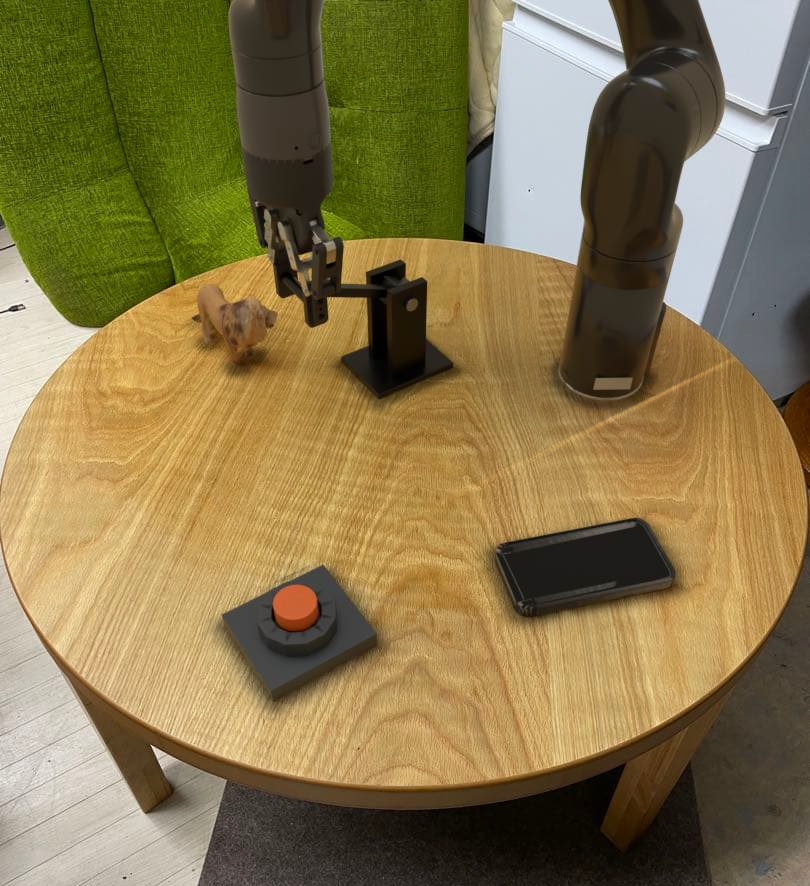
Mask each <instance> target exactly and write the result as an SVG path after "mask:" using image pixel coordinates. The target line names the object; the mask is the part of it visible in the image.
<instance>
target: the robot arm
mask: <svg viewBox="0 0 810 886" xmlns="http://www.w3.org/2000/svg"><path fill="white" fill-rule="evenodd" d="M607 2H608V3H609V6H610V8H611V12H612V14H613V17H614V20H615V24H616V28H617V32H618V35H619V39H620V45H621V48H622V52H623V53H622V54H623V57H624V63H625V70H624V71H623V72H620V73H619V74H618V75H616V76H615V77H613V78H612V79H611V80H610V81H609V82H608V83H607V84H605V86H604V87H603V89H602V90H601V91H600V93H599V94H598V96H597V99H596V101H595V103H594V106H593V109H592V112H591V116H590V119H589V125H588V129H587V136H586V144H585V151H584V159H583V168H582V175H581V176H582V177H581V186H580V198H579V200H580V209H581V214H582V216H583V226H582V232H581V237H580V244H579V249H578V256H577V262H576V267H575V272H574V273H575V274H574V278H573V279H574V280H573V286H572V291H571V297H570V303H569V309H568V313H567V321H566V326H565V331H564V338H563V343H562V344H563V345H562V348H561V354H560V360H559V362H558V367H557V375H558V378H559V380H560V382H561V384H562V385H563V386H564V387H565V388H566V389H567V390H569V392H571V393H573V394H574V395H577V396H579V397H581V398H584V399H587V400H589V401H596V402H617V401H618V402H619V401H622V400H626V399H627V398H630V397H632V396H634V395H635V394H637V392H638V391H639V390H640V389H641V387H642V385H643V382H644V378H645V377H647V376H649V374H650V371H651V367H652V364H653V360H654V356H655V353H656V349H657V345H658V342H659V339H660V338H659V337H660V334H661V331H662V327H663V323H664V319H665V317H666V316H665V315H666V313H667V304H666V302H665V301H664V299H665V296H666V292H667V287H668V285H669V281H670V276H671V272H672V268H673V265H674V261H675V257H676V254H677V250H678V245H679V242H680V239H681V235H682V231H683V227H684V215H683V212H682V210H681V208H680V207H679V206H678V205H677V203H676V198H677V194H678V190H679V186H680V181H681V176H682V172H683V168H684V165H685V162H686V161H688V160H689V159H691V158H692V157H693V156H694V155H695V154H696V153H697V152H699V151H700V150H701V149H703V148H704V147H705V146H706V145H707V144H708V143H709V142H710V141H711V140H712V138H713V137H714V136H715V134H716V133H717V131H718V129H719V128H720V126H721V123H722V121H723V117H724V114H725V107H726V87H725V81H724V76H723V73H722V69H721V65H720V61H719V59H718V55H717V52H716V49H715V47H714V43H713V40H712V37H711V33H710V31H709V29H708V24H707V22H706V19H705V16H704V13H703V9H702V6H701V4H700V1H699V0H607ZM324 4H325V0H232V1H231V3H230V6H229V9H228V33H229V41H230V49H231V57H232V64H233V72H234V78H235V79H234V80H235V89H236V97H235V99H236V105H235V106H236V118H237V124H238V131H239V132H238V133H239V138H240V146H241V152H242V160H243V167H244V174H245V175H244V176H245V182H246V183H245V184H246V190H247V195H248V200H249V204H250V209H251V214H252V218H253V223H254V226H255V231H256V236H257V241H258V244H259V246H260V247H261V249H266V248H267V257H268V260H269V261H270V263H272V269H273V277H274V283H275V292H276V294H277V296H278V297H279V298H280V299H287V298H289V297H291V296H296V295H295V294H294V293H293V292H292V291H291V290H290V289H289V288H288V287H287V286H286V285H285V284H284V283H283V282H282V280H281V278H282V275H283V274H284V273H286V272H290V273H291V274H292V275H293V276H294V277H295V278H296V279H297V280H298V281H299V282H300V283H301V286H302V290H303V292H302V294H303V302H302V304H303V312H304V313H303V314H304V323H305V324H306V326H308V327H309V328H310V329H313V328H316V327H319V326H322V325H324V324H326V323H328V321H329V318H330V317H329V305H328V297H327V296H328V295H331V294H333V293H337V292H340V290H341V284H342V275H343V263H344V261H343V260H344V251H345V245H344V242H343V239H342V238H341V237H340V236H336V237H333V238H331V237H330V236H329V235H328V233H327V232H326V231H325V229H326V225H325V224H326V223H325V220H324V216H323V212H322V208H321V207H322V204H323V202H324V201H325V199H326V198H327V197H328V196H329V194H330V193H331V191H332V190H333V187H334V169H333V154H332V151H333V150H332V138H331V136H332V135H331V124H330V123H331V121H330V120H331V119H330V107H329V100H328V94H327V89H326V85H325V84H326V83H325V76H324V75H325V72H324V56H323V55H324V54H323V40H322V31H321V22H322V14H323V10H324ZM308 253H309V255H310V256H309V257H307V258H303V259H301V258H300V256H303V255H307V254H308ZM310 270H311V277H310V276H309V271H310ZM310 278H311V279H310Z"/></svg>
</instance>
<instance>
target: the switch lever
mask: <svg viewBox="0 0 810 886" xmlns="http://www.w3.org/2000/svg"><path fill="white" fill-rule="evenodd" d="M281 280H282V282H283V283H284V284H285V285H286V286H287V287H288V288H289V289H290V290H291V291H292V292H293V293H294V294H295V295H294V296H296V297H297V298H298V299H299V300H300V302H302V303H303V294H302V292H303V290H302V286H301V282H300V280H299V279H298V280H297V279H296V278H295V277H294V276H293V275H292V274H291V273H290V272H286V273H284V274H283V275H282V278H281ZM410 281H411V280H409V279H408V278H407V276H406V277H404V276H383V280H382V283H381V285H379V284H366V283H341V290H340V292H337V293H333V294H331V295H328V296H327V298H342V299H343V298H347V299H348V298H349V299H350V298H351V299H352V298H353V299H356V298H357V299H367V298H379V299H380V300H381V301H382V302H384V303H385V304H386V305H387V290H388V289H391V288H394V287H397V286H399V285H402V284H405V283H407V282H410Z"/></svg>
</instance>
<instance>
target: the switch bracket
mask: <svg viewBox="0 0 810 886" xmlns="http://www.w3.org/2000/svg"><path fill="white" fill-rule="evenodd" d="M383 276H404V277H406V278H407V263H406V262H405V261H404V260H403V259H398V260H394V261H392V262H388V263H386V264H384V265H381V266H378V267H375V268H373V269H370V270H367V271H365V284H379V285H381V283H382V280H383ZM409 281H410V282H407V283H405V284H402V285H399V286H397V287H394V288H391V289H388V290H387V305H386V304H385V303H384V302H382V301H381V300H380V299H379V298H366V316H367V317H366V318H367V343H368V345H367V346H364V347H361V348H359V349H357V350H354V351H352V352H349V353H347V354H344V355H341V356H340V362H341V363H342V364H343V365H344V366H345V367H346V368H347V369H348V370H349V371H350V372H351V374H353V375H354V376H355V377H356V378H357V379H358V380H359V381H360V382H361V383H362V384H363V385H364V386H365V387H366V389H368V391H369V392H370V393H372V394H373V395H374V397H376V398H377V400H381V399H383V398H385V397H388V396H391V395H393V394H395V393H397V392H400V391H401V390H404V389H407V388H410V387H411V386H414V385H416V384H419V383H420V382H424V381H425V380H428V379H430V378H433V377H435V376H437V375H439V374H442V373H444V372H447V371H448V370H452V369H453V368H454V362H453V361H452V360H451V359H450V358H448V356H446V355H445V353H443V352H442V351H441V350H440V349H438V348H437V347H436V346H435V345H434V344H433V343H432V342H430V341H429V340H428V339H427V317H428V315H427V314H428V313H427V312H428V280H427V279H426V278H424V277H423V276H421V277H417V278H416V279H413V280H409Z"/></svg>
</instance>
